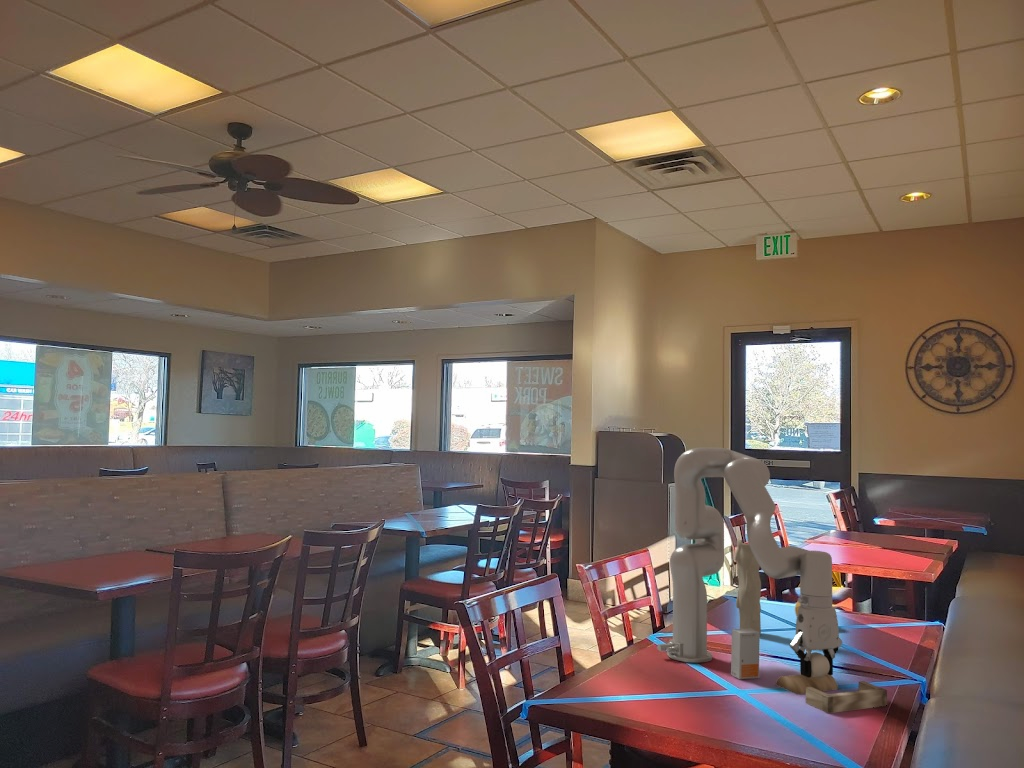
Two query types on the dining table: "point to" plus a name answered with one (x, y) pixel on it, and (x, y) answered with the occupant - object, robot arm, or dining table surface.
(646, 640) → the dining table surface
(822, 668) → the ball
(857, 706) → the rail
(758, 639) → the skincare box
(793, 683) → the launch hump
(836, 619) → the robot arm
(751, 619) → the vase
